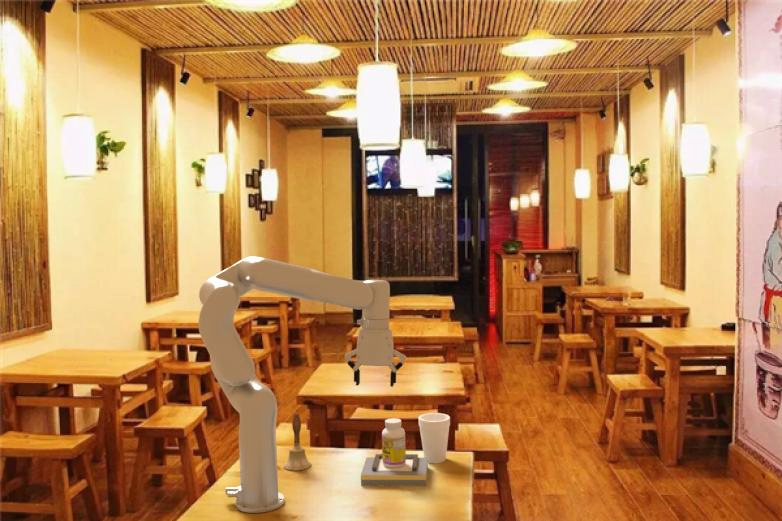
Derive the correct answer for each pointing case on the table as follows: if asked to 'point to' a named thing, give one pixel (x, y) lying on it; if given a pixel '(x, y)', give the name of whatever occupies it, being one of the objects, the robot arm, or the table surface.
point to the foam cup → (434, 436)
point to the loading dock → (395, 473)
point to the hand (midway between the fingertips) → (374, 385)
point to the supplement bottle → (393, 444)
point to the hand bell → (297, 449)
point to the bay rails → (408, 456)
